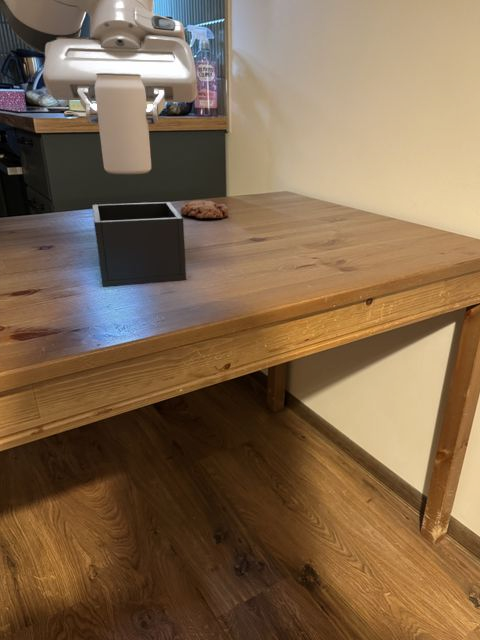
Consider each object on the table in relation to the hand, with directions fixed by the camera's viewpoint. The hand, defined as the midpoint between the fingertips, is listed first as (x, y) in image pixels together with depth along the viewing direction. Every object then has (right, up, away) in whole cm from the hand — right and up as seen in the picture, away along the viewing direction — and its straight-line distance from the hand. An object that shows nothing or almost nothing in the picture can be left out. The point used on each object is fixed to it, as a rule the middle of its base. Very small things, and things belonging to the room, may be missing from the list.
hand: (123, 120), depth 66 cm
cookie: (+6, -2, +42) cm, 43 cm away
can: (0, -6, +4) cm, 7 cm away
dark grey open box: (0, -19, +9) cm, 21 cm away
